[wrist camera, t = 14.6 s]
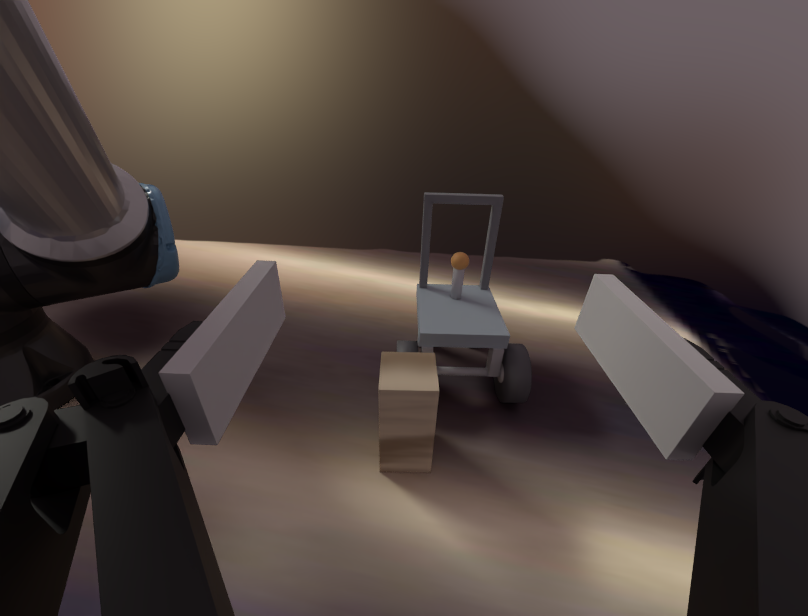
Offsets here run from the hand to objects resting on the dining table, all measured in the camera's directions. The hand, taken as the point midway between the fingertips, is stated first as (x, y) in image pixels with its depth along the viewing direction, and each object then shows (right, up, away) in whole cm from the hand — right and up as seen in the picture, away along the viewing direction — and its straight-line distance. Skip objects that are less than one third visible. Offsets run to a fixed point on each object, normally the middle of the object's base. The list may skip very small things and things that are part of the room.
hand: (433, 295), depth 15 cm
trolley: (+5, -9, +32) cm, 34 cm away
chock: (-1, -15, +22) cm, 27 cm away
